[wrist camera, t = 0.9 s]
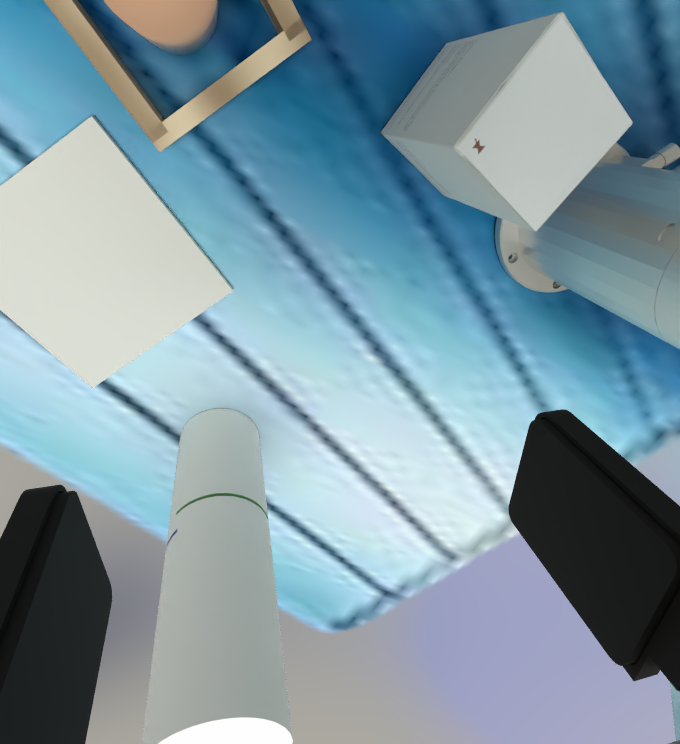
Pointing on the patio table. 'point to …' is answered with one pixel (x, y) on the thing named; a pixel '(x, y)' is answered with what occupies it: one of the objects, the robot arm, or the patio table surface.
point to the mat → (97, 257)
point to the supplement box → (510, 119)
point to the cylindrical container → (218, 598)
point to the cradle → (206, 102)
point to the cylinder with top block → (170, 22)
